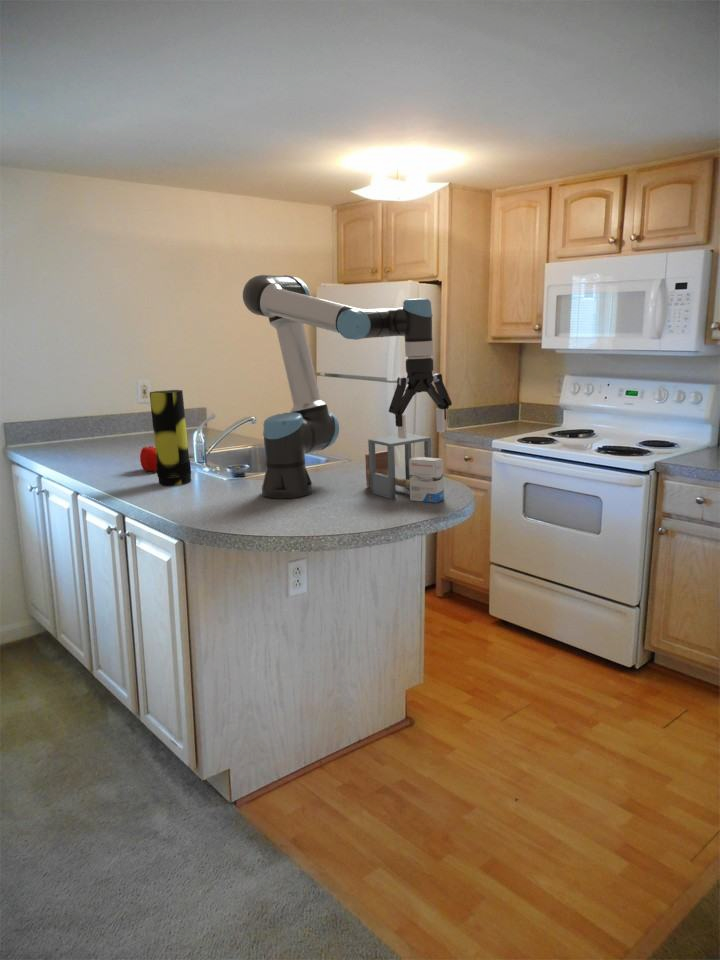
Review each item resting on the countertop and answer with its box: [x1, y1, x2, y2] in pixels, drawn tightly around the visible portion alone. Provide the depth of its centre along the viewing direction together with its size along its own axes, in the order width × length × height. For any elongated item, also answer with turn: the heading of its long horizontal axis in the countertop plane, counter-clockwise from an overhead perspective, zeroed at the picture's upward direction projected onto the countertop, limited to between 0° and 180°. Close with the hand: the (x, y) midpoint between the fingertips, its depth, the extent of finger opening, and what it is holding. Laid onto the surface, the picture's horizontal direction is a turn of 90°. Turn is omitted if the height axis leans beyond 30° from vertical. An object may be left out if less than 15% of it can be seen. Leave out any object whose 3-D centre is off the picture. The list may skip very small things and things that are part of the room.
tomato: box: [139, 446, 157, 473], centre depth 252 cm, size 11×12×9 cm
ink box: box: [409, 456, 445, 504], centre depth 195 cm, size 8×5×12 cm, turn 56°
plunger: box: [364, 449, 410, 490], centre depth 208 cm, size 20×9×10 cm, turn 34°
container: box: [149, 389, 192, 487], centre depth 229 cm, size 11×11×30 cm
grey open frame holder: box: [367, 432, 432, 500], centre depth 206 cm, size 11×14×16 cm
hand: (421, 435), depth 195 cm, fingers open, 13 cm apart
